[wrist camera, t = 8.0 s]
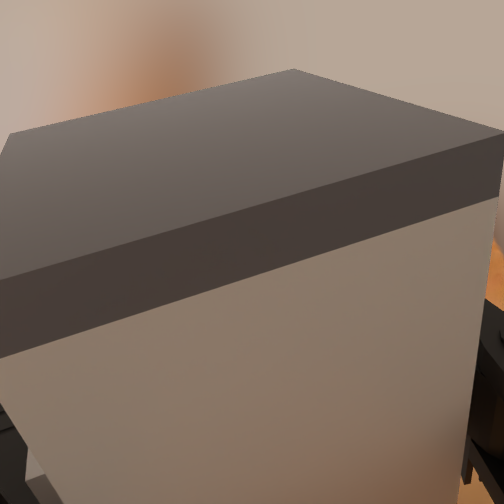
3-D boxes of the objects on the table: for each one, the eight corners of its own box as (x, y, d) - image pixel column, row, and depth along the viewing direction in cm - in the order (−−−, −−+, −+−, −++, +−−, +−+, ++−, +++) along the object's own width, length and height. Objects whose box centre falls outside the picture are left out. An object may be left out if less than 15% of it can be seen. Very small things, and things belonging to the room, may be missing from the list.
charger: (230, 767, 9) (-66, 298, 3) (182, 536, 12) (9, 133, 7) (436, 653, 10) (507, 132, 4) (333, 470, 13) (293, 68, 8)
